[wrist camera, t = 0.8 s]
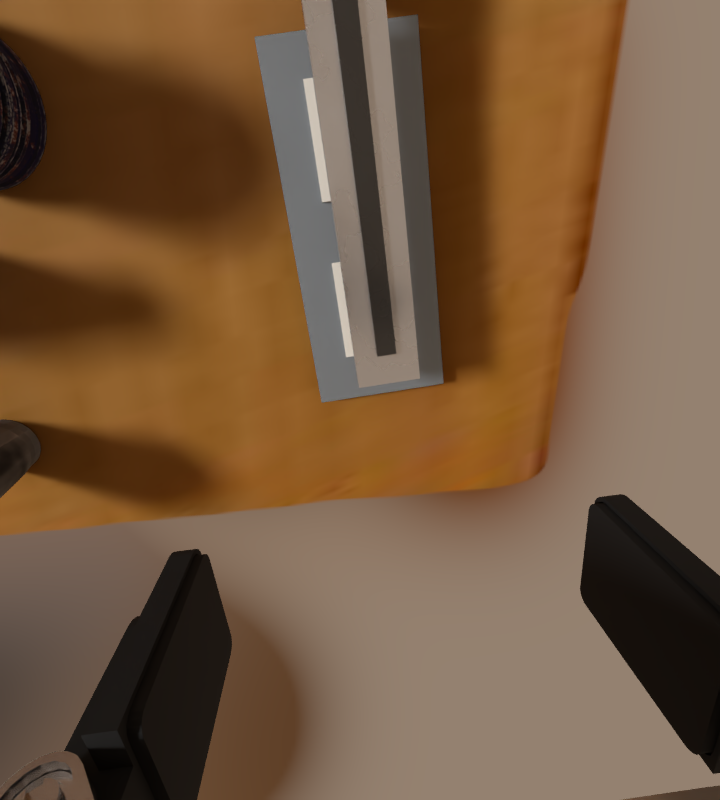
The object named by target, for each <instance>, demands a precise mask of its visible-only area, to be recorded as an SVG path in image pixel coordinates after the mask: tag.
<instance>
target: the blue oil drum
mask: <svg viewBox="0 0 720 800" xmlns="http://www.w3.org/2000/svg"><path fill="white" fill-rule="evenodd" d="M46 135H47V124H46V115H45V110H44V106H43V102H42V99H41V96H40V94H39V91H38V89H37V86H36V84H35V82H34V80H33V79H32V77H31V75H30V73H29V71H28V70H27V68H26V67H25V66H24V64H23V63H22V61H21V60H20V58H19V57H18V56H17V55H16V54H15V53H14V52H13V51H12V49H11V48H10V47H9V46H8V45H7V44H5V43H4V42H3V41H2V40H1V39H0V190H4V189H8V188H11V187H13V186H16V185H18V184H19V183H21V182H22V181H24V180H25V179H27V178H28V177H29V176H30V175H31V174H32V173H33V172H34V170H35V169H36V167H37V165H38V164H39V162H40V160H41V158H42V155H43V152H44V149H45V144H46Z"/></svg>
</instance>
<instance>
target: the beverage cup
mask: <svg viewBox="0 0 720 800" xmlns="http://www.w3.org/2000/svg"><path fill="white" fill-rule="evenodd" d="M40 452H41V447H40V442H39V440H38V438H37V436H36V435H35V434H34V433H33V432H32V431H31V430H30V429H29V428H28V427H26V426H24V425H23V424H21V423H18V422H15V421H12V420H0V498H1V497H2V496H3V495H4V494H5V493H6V492H7V491H8V490H9V489H10V488H11V487H12V486H13V485H14V484H15V483H16V482H17V481H18V480H19V479H20V478H21V477H22V476H23V475H24V474H25V473H26V472H27V471H28V469H29V468H30V467H31V465H33V464H34V463H35V462H36V461H37V460H38V458H39V456H40Z"/></svg>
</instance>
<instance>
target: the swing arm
mask: <svg viewBox="0 0 720 800" xmlns="http://www.w3.org/2000/svg"><path fill="white" fill-rule="evenodd" d="M301 2H302V9H303V16H304V23H305V29H306V36H307V43H308V50H309V56H310V63H311V70H312V77H313V84H314V90H315V97H316V104H317V111H318V117H319V124H320V131H321V138H322V144H323V151H324V158H325V165H326V171H327V178H328V185H329V192H330V198H331V205H332V212H333V219H334V226H335V232H336V239H337V246H338V253H339V259H340V266H341V273H342V280H343V286H344V293H345V300H346V307H347V313H348V320H349V327H350V334H351V340H352V347H353V354H354V361H355V368H356V374H357V381H358V385H359V388H363V387H369V386H376V385H382V384H388V383H395V382H401V381H408V380H414V379H420V373H419V362H418V351H417V340H416V329H415V318H414V307H413V296H412V285H411V274H410V263H409V252H408V240H407V229H406V218H405V207H404V196H403V185H402V174H401V163H400V152H399V141H398V130H397V119H396V108H395V97H394V86H393V75H392V64H391V53H390V42H389V31H388V20H387V9H386V0H301Z"/></svg>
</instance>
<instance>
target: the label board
mask: <svg viewBox="0 0 720 800" xmlns="http://www.w3.org/2000/svg"><path fill="white" fill-rule="evenodd" d="M387 20H388V31H389V42H390V53H391V64H392V75H393V86H394V97H395V108H396V119H397V130H398V141H399V152H400V163H401V174H402V185H403V196H404V207H405V218H406V229H407V240H408V252H409V263H410V274H411V285H412V296H413V307H414V318H415V329H416V340H417V351H418V362H419V373H420V379H414V380H408V381H401V382H395V383H388V384H382V385H376V386H369V387H363V388H359V385H358V381H357V374H356V368H355V361H354V354H353V347H352V340H351V334H350V327H349V320H348V313H347V307H346V300H345V293H344V286H343V280H342V273H341V266H340V259H339V253H338V246H337V239H336V232H335V226H334V219H333V212H332V205H331V198H330V192H329V185H328V178H327V171H326V165H325V158H324V151H323V144H322V138H321V131H320V124H319V117H318V111H317V104H316V97H315V90H314V84H313V77H312V70H311V63H310V56H309V50H308V43H307V36H306V30H301V31H294V32H287V33H279V34H272V35H265V36H257V37H255V42H256V48H257V53H258V59H259V64H260V69H261V75H262V80H263V86H264V91H265V97H266V102H267V107H268V113H269V118H270V124H271V129H272V135H273V140H274V145H275V151H276V156H277V162H278V167H279V173H280V178H281V183H282V189H283V194H284V200H285V205H286V211H287V216H288V222H289V227H290V232H291V238H292V243H293V249H294V254H295V260H296V265H297V270H298V276H299V281H300V287H301V292H302V298H303V303H304V308H305V314H306V319H307V325H308V330H309V336H310V341H311V346H312V352H313V357H314V363H315V368H316V374H317V379H318V385H319V390H320V395H321V401H322V402H328V401H335V400H341V399H347V398H354V397H360V396H367V395H373V394H379V393H386V392H392V391H399V390H405V389H411V388H418V387H424V386H430V385H437V384H443V369H442V355H441V341H440V326H439V312H438V298H437V283H436V269H435V254H434V240H433V226H432V211H431V197H430V183H429V168H428V154H427V139H426V125H425V111H424V96H423V82H422V68H421V53H420V39H419V24H418V14H417V15H410V16H403V17H395V18H388V19H387Z"/></svg>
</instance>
